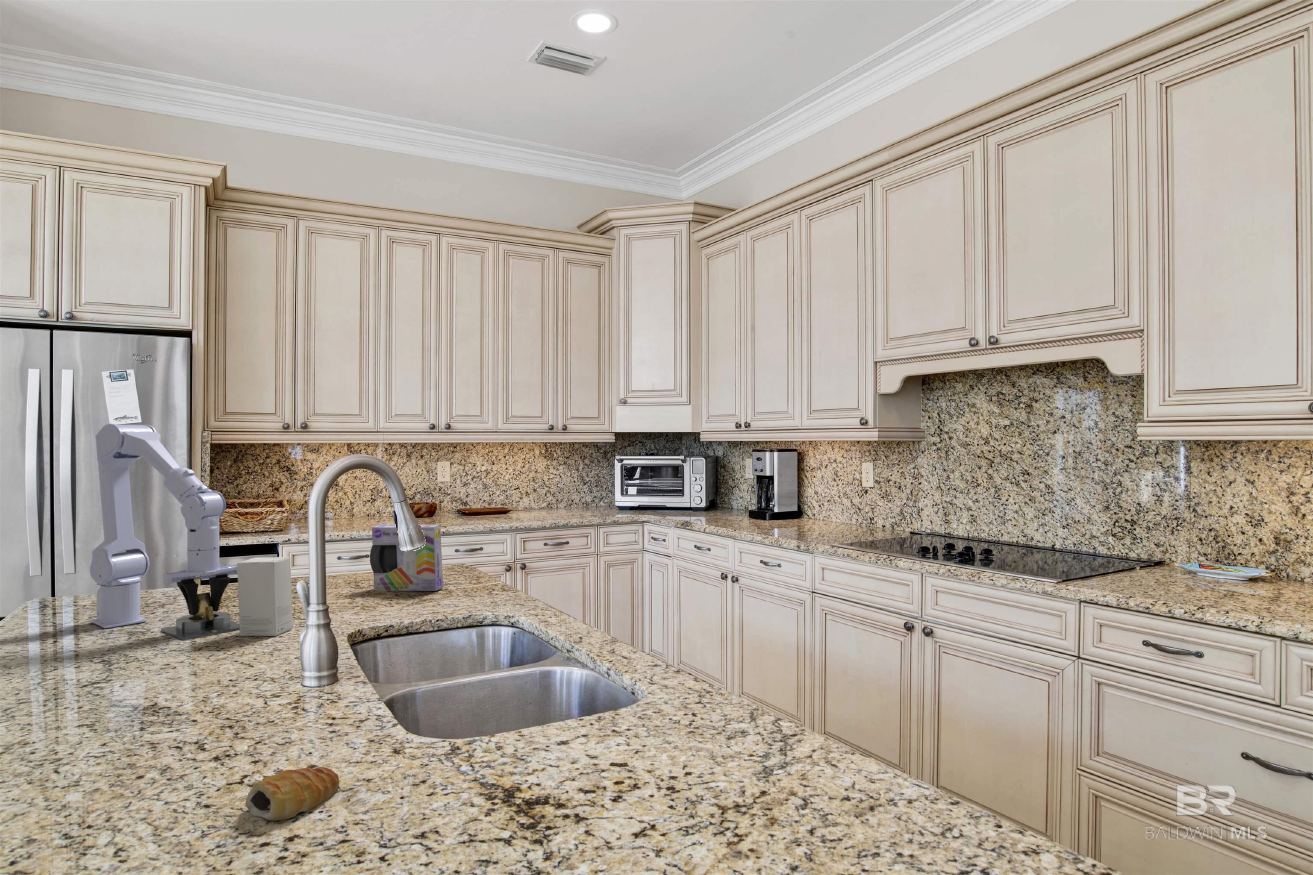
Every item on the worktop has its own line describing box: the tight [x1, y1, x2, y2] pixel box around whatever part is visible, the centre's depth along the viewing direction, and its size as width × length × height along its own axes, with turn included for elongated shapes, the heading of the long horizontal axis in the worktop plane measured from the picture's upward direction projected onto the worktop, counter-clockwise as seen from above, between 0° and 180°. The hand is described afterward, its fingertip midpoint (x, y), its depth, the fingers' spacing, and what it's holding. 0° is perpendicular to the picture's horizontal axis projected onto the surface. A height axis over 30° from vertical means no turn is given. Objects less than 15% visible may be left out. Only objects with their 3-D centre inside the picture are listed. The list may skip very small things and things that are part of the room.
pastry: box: [244, 766, 340, 822], centre depth 83 cm, size 9×7×4 cm
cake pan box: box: [369, 523, 444, 592], centre depth 200 cm, size 19×5×18 cm, turn 80°
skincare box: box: [236, 556, 294, 637], centre depth 155 cm, size 8×7×16 cm
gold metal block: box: [193, 591, 214, 622], centre depth 158 cm, size 5×4×6 cm
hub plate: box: [160, 611, 240, 641], centre depth 158 cm, size 12×12×3 cm
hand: (203, 612), depth 158 cm, fingers closed on gold metal block, 4 cm apart
